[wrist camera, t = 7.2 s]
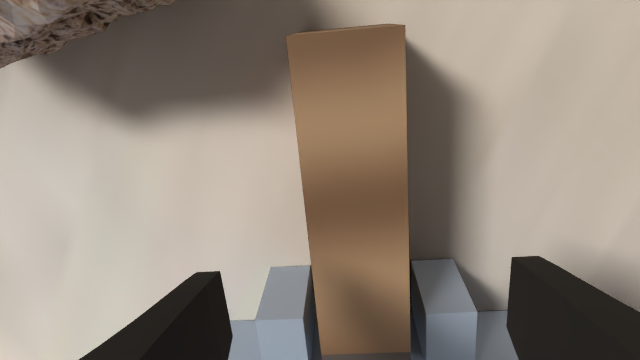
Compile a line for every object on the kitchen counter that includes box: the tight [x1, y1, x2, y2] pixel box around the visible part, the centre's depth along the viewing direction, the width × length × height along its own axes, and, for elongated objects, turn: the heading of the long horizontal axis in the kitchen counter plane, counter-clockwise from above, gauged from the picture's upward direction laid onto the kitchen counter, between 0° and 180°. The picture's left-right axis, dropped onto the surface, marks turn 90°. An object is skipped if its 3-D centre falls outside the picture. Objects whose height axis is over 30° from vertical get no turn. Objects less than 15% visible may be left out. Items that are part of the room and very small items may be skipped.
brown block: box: [286, 24, 411, 360], centre depth 17 cm, size 13×4×5 cm, turn 5°
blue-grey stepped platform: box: [228, 259, 519, 360], centre depth 18 cm, size 5×20×7 cm, turn 95°
